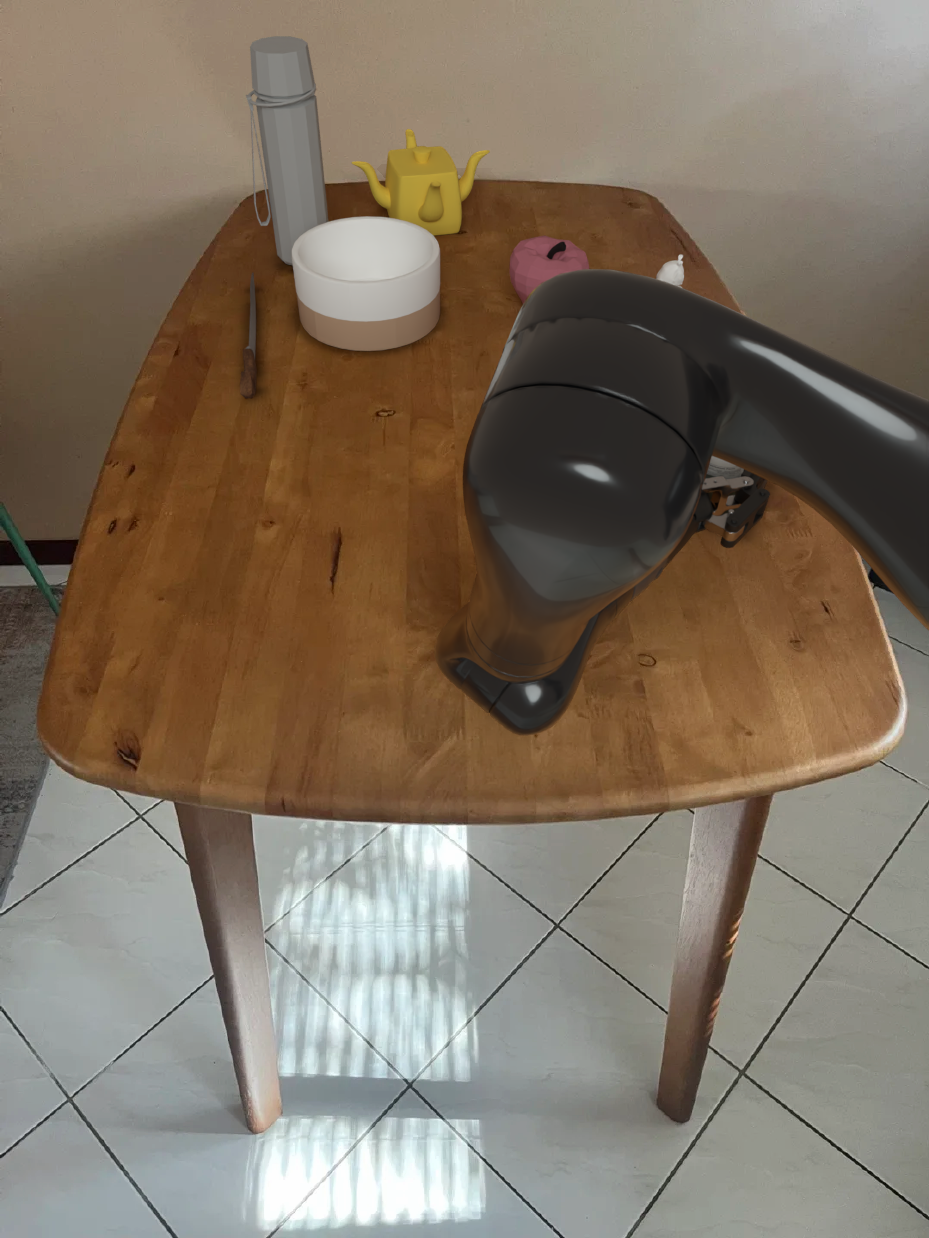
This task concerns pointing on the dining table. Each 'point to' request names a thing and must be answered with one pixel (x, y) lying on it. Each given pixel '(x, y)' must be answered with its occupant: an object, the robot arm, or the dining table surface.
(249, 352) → the knife
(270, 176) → the water bottle
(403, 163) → the teapot
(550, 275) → the apple
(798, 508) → the dining table surface
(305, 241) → the bowl
